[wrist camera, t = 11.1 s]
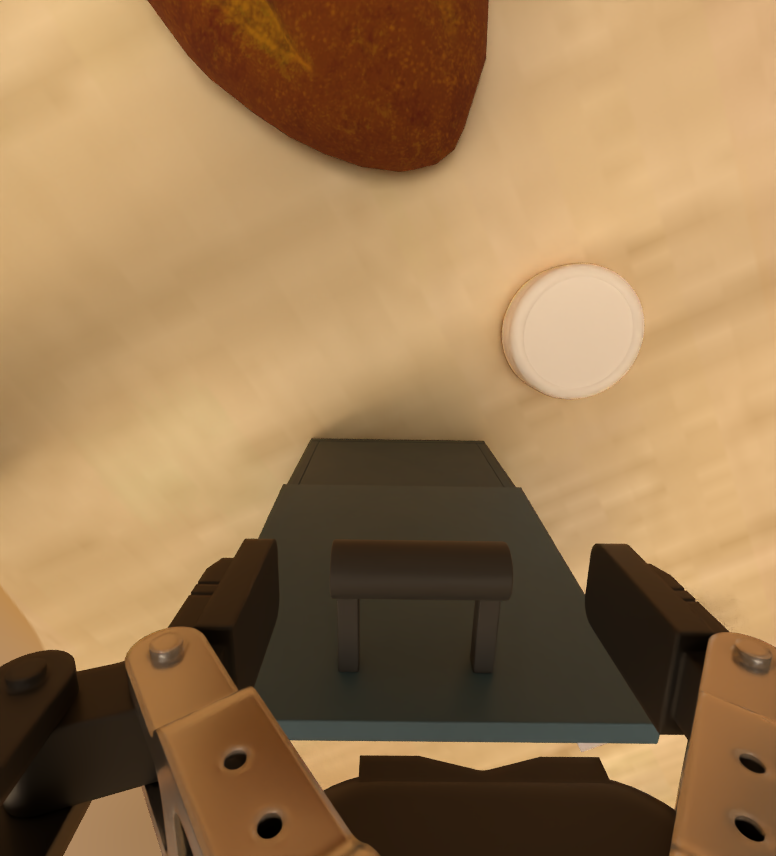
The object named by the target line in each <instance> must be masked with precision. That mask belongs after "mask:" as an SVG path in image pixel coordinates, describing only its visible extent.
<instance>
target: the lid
mask: <svg viewBox="0 0 776 856" xmlns="http://www.w3.org/2000/svg"><path fill="white" fill-rule="evenodd" d="M258 539H276V542H277V548H278V571H279V610H278V616H277V620H276V624H275V627H274V629H273V632H272V635H271V638H270V641H269V644H268V647H267V650H266V653H265V656H264V659H263V662H262V665H261V668H260V671H259V674H258V677H257V680H256V683H255V686H254V689H255V690H256V691H257V692H258V694H259V695H260V697H261V698H262V700H263V701H264V703H265V704H266V706H267V707H268V709H269V710H270V712H271V713H272V715H273V716H274V718H275V719H276V721H277V722H278V724H279V725H280V727H281V728H282V730H283V731H284V733H285V734H286V736H287V737H288V739H289V740H320V741H426V742H532V743H639V744H656V743H658V739H659V733H658V732H657V730H656V729H655V727H654V725H653V724H652V722H651V721H650V719H649V718H648V716H647V714H646V713H645V711H644V710H643V708H642V706H641V705H640V703H639V702H638V700H637V699H636V697H635V695H634V694H633V692H632V691H631V689H630V688H629V686H628V684H627V683H626V681H625V680H624V678H623V676H622V675H621V673H620V672H619V670H618V669H617V667H616V665H615V664H614V662H613V661H612V659H611V657H610V656H609V654H608V653H607V651H606V650H605V648H604V646H603V645H602V643H601V642H600V640H599V638H598V637H597V635H596V634H595V632H594V631H593V629H592V627H591V626H590V624H589V622H588V619H587V616H586V611H585V594H584V593H583V591H582V589H581V587H580V586H579V584H578V582H577V581H576V579H575V577H574V576H573V574H572V572H571V571H570V569H569V567H568V566H567V564H566V562H565V561H564V559H563V557H562V556H561V554H560V552H559V551H558V549H557V547H556V546H555V544H554V542H553V540H552V539H551V537H550V535H549V534H548V532H547V530H546V529H545V527H544V525H543V524H542V522H541V520H540V519H539V517H538V515H537V514H536V512H535V510H534V509H533V507H532V505H531V504H530V502H529V500H528V499H527V497H526V495H525V493H524V492H523V490H522V488H519V487H447V486H375V485H303V484H283V486H282V488H281V490H280V493H279V495H278V497H277V499H276V501H275V503H274V506H273V508H272V510H271V512H270V514H269V516H268V519H267V521H266V523H265V525H264V527H263V529H262V532H261V534H260V536H259V538H258Z"/></svg>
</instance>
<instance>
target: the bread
mask: <svg viewBox="0 0 776 856" xmlns="http://www.w3.org/2000/svg"><path fill="white" fill-rule="evenodd" d="M148 1H149V3H150V4H151V6H152V7H153V8H154V10H155V11H156V12H157V14H158V15H159V16H160V18H161V19H162V21H163V22H164V23H165V25H166V26H167V27H168V29H169V30H170V32H171V33H172V34H173V36H174V37H175V38H176V40H177V41H178V42H179V44H180V45H181V47H182V48H183V49H184V51H185V52H186V53H187V55H188V56H189V57H190V58H191V59H192V60H193V61H194V62H195V63H196V64H197V65H198V66H199V67H200V68H201V70H202V71H203V72H204V73H205V74H206V75H207V76H208V77H209V78H210V79H211V80H212V81H214V82H215V83H216V84H218V85H219V86H220V87H221V88H223V89H224V90H225V91H227V92H228V93H229V94H230V95H232V96H233V97H234V98H236V99H237V100H238V101H239V102H241V103H242V104H243V105H245V106H246V107H247V108H248V109H250V110H251V111H252V112H254V113H255V114H256V115H258V116H259V117H261V118H262V119H264V120H265V121H267V122H268V123H270V124H271V125H273V126H274V127H276V128H277V129H279V130H280V131H282V132H283V133H285V134H286V135H288V136H289V137H291V138H293V139H295V140H297V141H299V142H301V143H303V144H306V145H308V146H310V147H312V148H314V149H316V150H318V151H320V152H322V153H324V154H327V155H330V156H333V157H335V158H338V159H341V160H344V161H347V162H350V163H353V164H356V165H358V166H361V167H368V168H376V169H383V170H390V171H397V172H402V171H408V170H414V169H418V168H422V167H426V166H430V165H434V164H437V163H438V162H439V161H440V160H442V159H443V158H444V157H445V156H447V155H448V154H449V153H450V152H452V151H453V150H454V149H455V146H456V144H457V142H458V140H459V138H460V136H461V133H462V131H463V129H464V126H465V123H466V120H467V117H468V113H469V110H470V107H471V104H472V101H473V98H474V94H475V91H476V88H477V85H478V82H479V79H480V75H481V72H482V69H483V66H484V63H485V59H486V45H487V22H488V0H148Z"/></svg>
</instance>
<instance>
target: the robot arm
mask: <svg viewBox="0 0 776 856" xmlns="http://www.w3.org/2000/svg"><path fill="white" fill-rule="evenodd" d="M278 610H279V571H278V548H277V542H276V539H245V540H244V541H243V543H242V545H241V546H240V548H239V550H238V552H237V553H236V555H235V557H234V558H222V559H220V560H219V561H217V562H216V563H214V564H213V565H212V566H210V567H209V568H207V569H206V571H205V572H204V574H203V575H202V577H201V578H200V580H199V581H198V584H196V586H195V587H194V589H193V590H192V592H191V595H189V596H188V598H187V599H186V601H185V602H184V604H183V605H182V607H181V609H180V610H179V612H178V613H177V615H176V616H175V618H174V619H173V621H172V622H171V624H170V625H169V627H168V628H166V629H162V630H159V631H156V632H153V633H151V634H149V635H147V636H145V637H144V638H142V639H140V640H139V641H138V642H137V643H135V644H134V645H133V646H132V647H131V648H130V650H129V651H128V653H127V655H126V657H125V661H123V662H120V663H116V664H112V665H107V666H102V667H97V668H92V669H88V670H83V671H78V672H76V665H75V661H74V658H73V657H72V655H70V654H69V653H67V652H64V651H59V650H46V651H39V652H35V653H31V654H27V655H24V656H21V657H19V658H17V659H14V660H12V661H10V662H8V663H6V664H4V665H3V666H1V667H0V856H63V855H64V853H65V851H66V849H67V847H68V845H69V843H70V841H71V840H72V838H73V835H74V833H75V832H76V830H77V828H78V826H79V824H80V822H81V820H82V818H83V817H84V815H85V813H86V811H87V809H88V807H89V805H90V803H91V801H92V800H94V799H98V798H101V797H105V796H108V795H112V794H115V793H119V792H122V791H126V790H129V789H133V788H136V787H140V786H142V790H143V794H144V797H145V800H146V804H147V807H148V810H149V813H150V817H151V820H152V823H153V827H154V830H155V833H156V836H157V840H158V843H159V847H160V850H161V853H162V856H776V647H774V646H772V645H770V644H768V643H766V642H764V641H762V640H760V639H757V638H754V637H751V636H748V635H744V634H739V633H732V632H729V631H728V630H727V629H726V628H725V627H724V626H723V625H722V624H721V623H720V622H719V621H717V620H716V619H715V618H714V617H713V616H712V615H711V614H710V613H709V612H708V611H707V610H706V609H705V608H704V607H703V606H702V605H701V604H700V603H699V602H695V598H694V597H693V596H692V595H690V594H689V593H688V592H687V591H684V588H683V587H682V586H681V585H680V584H679V583H678V582H677V581H676V580H675V579H674V578H673V577H672V576H671V575H669V574H667V573H666V572H664V571H662V570H660V569H659V568H657V567H655V566H653V565H652V564H647V563H646V562H645V561H644V560H643V559H642V558H641V557H640V556H639V555H638V554H637V553H636V552H635V551H634V550H633V549H632V548H631V547H630V546H629V545H627V544H595V545H594V546H593V548H592V551H591V556H590V563H589V571H588V579H587V586H586V594H585V611H586V616H587V619H588V622H589V624H590V626H591V627H592V629H593V631H594V632H595V634H596V635H597V637H598V638H599V640H600V642H601V643H602V645H603V646H604V648H605V650H606V651H607V653H608V654H609V656H610V657H611V659H612V661H613V662H614V664H615V665H616V667H617V669H618V670H619V672H620V673H621V675H622V676H623V678H624V680H625V681H626V683H627V684H628V686H629V688H630V689H631V691H632V692H633V694H634V695H635V697H636V699H637V700H638V702H639V703H640V705H641V706H642V708H643V710H644V711H645V713H646V714H647V716H648V718H649V719H650V721H651V722H652V724H653V725H654V727H655V729H656V730H657V732H658V733H659V735H685V736H686V738H687V739H688V742H687V747H686V752H685V757H684V762H683V767H682V772H681V778H680V783H679V788H678V793H677V798H676V804H675V809H673V808H671V807H669V806H668V805H666V804H665V803H663V802H662V801H660V800H658V799H656V798H654V797H652V796H651V795H649V794H647V793H645V792H642V791H640V790H638V789H636V788H633V787H631V786H628V785H625V784H622V783H619V782H616V781H613V780H609V778H608V776H607V773H606V771H605V769H604V767H603V765H602V763H601V761H600V758H599V757H538V758H534V759H530V760H526V761H522V762H518V763H514V764H510V765H506V766H502V767H498V768H495V769H491V770H485V771H482V770H475V769H471V768H467V767H463V766H458V765H454V764H450V763H446V762H442V761H438V760H434V759H429V758H425V757H421V756H360V765H359V777H357V778H353V779H349V780H346V781H344V782H341V783H338V784H336V785H333V786H331V787H330V788H328V789H326V790H324V791H323V790H322V788H321V787H320V785H319V784H318V782H317V781H316V779H315V778H314V776H313V775H312V773H311V772H310V770H309V769H308V767H307V766H306V764H305V763H304V761H303V760H302V758H301V757H300V755H299V754H298V752H297V751H296V749H295V748H294V746H293V745H292V743H291V742H290V740H289V739H288V737H287V736H286V734H285V733H284V731H283V730H282V728H281V727H280V725H279V724H278V722H277V721H276V719H275V718H274V716H273V715H272V713H271V712H270V710H269V709H268V707H267V706H266V704H265V703H264V701H263V700H262V698H261V697H260V695H259V694H258V692H257V691H256V690H255V689H254V686H255V683H256V680H257V677H258V674H259V671H260V668H261V665H262V662H263V659H264V656H265V653H266V650H267V647H268V644H269V641H270V638H271V635H272V632H273V629H274V627H275V624H276V620H277V616H278Z"/></svg>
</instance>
